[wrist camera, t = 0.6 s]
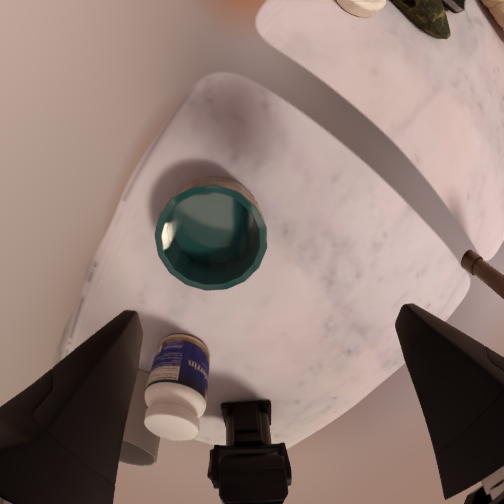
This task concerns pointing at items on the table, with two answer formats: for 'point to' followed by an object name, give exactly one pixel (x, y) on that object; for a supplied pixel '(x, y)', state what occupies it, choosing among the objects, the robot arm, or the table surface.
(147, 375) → the cup
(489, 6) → the model
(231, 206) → the bowl
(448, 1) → the external hard drive
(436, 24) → the decorative stone
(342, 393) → the table surface
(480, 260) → the stick
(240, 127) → the table surface
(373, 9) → the decorative finial
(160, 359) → the pill bottle
